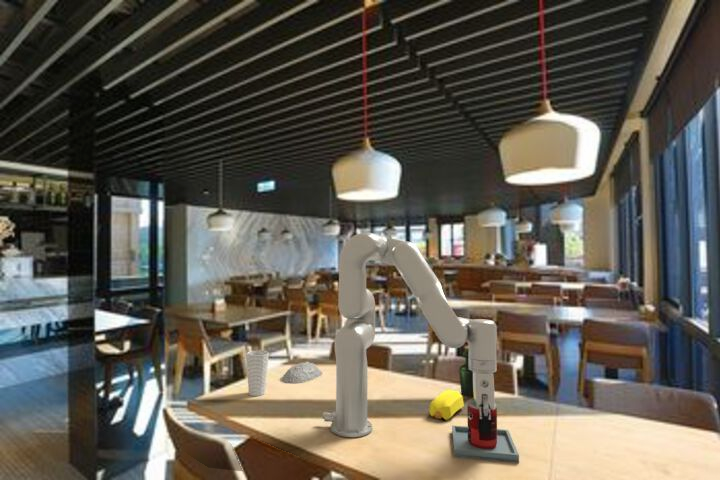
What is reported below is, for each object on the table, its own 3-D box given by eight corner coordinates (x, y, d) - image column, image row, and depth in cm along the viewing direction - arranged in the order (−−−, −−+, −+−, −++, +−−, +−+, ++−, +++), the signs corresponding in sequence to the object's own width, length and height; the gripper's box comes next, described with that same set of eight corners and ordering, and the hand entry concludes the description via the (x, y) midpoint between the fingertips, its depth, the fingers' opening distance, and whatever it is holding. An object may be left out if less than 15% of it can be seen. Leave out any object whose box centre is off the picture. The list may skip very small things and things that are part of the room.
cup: (265, 397, 153) (266, 355, 154) (242, 397, 153) (243, 355, 154) (270, 390, 161) (271, 350, 162) (249, 390, 161) (249, 350, 162)
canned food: (474, 434, 120) (474, 396, 120) (501, 442, 115) (501, 402, 115) (462, 443, 114) (462, 403, 114) (490, 452, 109) (490, 410, 109)
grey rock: (329, 370, 191) (328, 355, 191) (304, 388, 168) (303, 372, 168) (300, 370, 196) (298, 356, 197) (271, 388, 173) (270, 372, 173)
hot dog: (466, 407, 145) (446, 403, 149) (466, 388, 145) (446, 384, 149) (448, 424, 130) (425, 419, 134) (448, 402, 130) (425, 398, 134)
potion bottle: (477, 391, 162) (477, 345, 163) (483, 398, 154) (483, 349, 155) (456, 391, 162) (456, 345, 163) (461, 398, 154) (461, 349, 155)
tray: (454, 457, 108) (454, 449, 108) (452, 432, 123) (452, 425, 124) (519, 463, 105) (518, 455, 105) (508, 436, 120) (508, 429, 121)
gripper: (501, 373, 106) (501, 441, 105) (492, 358, 123) (492, 416, 122) (471, 371, 107) (471, 438, 107) (466, 356, 124) (466, 414, 124)
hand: (482, 426), depth 114 cm, fingers open, 9 cm apart
